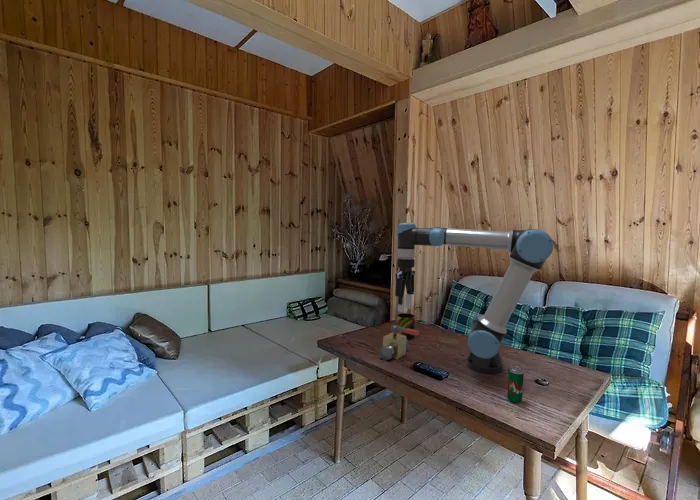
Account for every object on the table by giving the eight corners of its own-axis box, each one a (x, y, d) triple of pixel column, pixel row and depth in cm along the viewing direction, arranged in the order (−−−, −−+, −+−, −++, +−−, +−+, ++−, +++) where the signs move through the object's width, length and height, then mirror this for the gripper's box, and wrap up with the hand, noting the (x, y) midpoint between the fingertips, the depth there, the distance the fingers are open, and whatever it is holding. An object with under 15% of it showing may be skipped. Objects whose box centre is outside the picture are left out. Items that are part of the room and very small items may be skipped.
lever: (389, 335, 163) (389, 326, 163) (393, 333, 166) (393, 324, 166) (415, 342, 155) (416, 332, 154) (419, 340, 158) (419, 330, 157)
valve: (396, 347, 174) (396, 330, 173) (410, 351, 169) (410, 333, 168) (377, 357, 160) (378, 339, 159) (392, 362, 155) (392, 343, 154)
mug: (400, 330, 199) (401, 310, 198) (418, 337, 188) (418, 316, 187) (388, 333, 194) (388, 313, 193) (405, 341, 183) (405, 319, 182)
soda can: (517, 396, 126) (519, 365, 125) (525, 404, 121) (527, 371, 120) (504, 396, 126) (505, 365, 125) (511, 404, 121) (512, 371, 120)
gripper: (408, 255, 159) (407, 304, 161) (387, 259, 145) (386, 312, 147) (423, 257, 155) (421, 307, 157) (402, 260, 140) (401, 316, 142)
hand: (404, 309), depth 152 cm, fingers open, 6 cm apart
